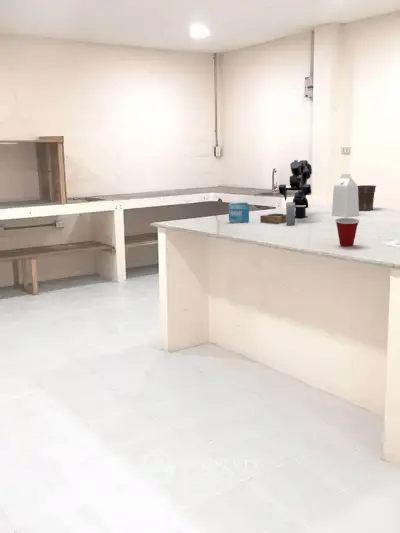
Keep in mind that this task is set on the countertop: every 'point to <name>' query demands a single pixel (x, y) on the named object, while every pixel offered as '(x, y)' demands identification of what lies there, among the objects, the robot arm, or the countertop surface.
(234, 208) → the data package
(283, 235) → the countertop surface
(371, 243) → the countertop surface
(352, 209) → the milk
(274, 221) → the stand
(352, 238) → the plastic cup
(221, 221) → the countertop surface
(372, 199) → the plant pot
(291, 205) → the grey bottle
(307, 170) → the robot arm
